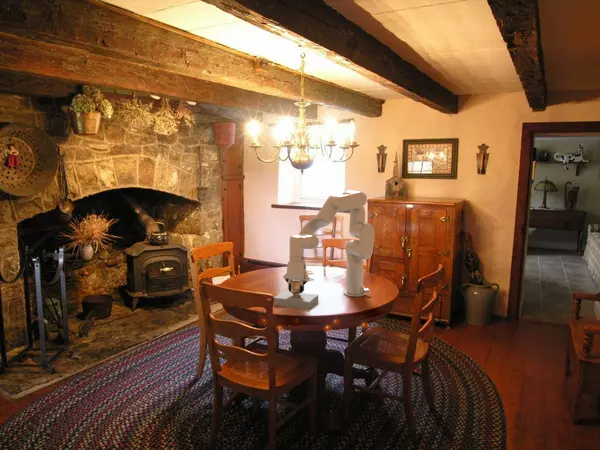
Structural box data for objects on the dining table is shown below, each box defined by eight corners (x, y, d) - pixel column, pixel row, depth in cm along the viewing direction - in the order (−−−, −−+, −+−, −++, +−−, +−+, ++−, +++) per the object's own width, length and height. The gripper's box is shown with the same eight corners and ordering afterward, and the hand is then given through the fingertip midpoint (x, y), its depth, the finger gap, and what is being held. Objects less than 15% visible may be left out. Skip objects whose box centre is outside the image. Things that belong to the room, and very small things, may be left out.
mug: (296, 280, 282) (296, 268, 281) (294, 276, 292) (294, 265, 291) (314, 280, 284) (314, 268, 282) (312, 276, 293) (312, 264, 292)
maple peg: (303, 297, 235) (303, 280, 234) (299, 299, 230) (299, 283, 229) (293, 295, 237) (293, 279, 236) (288, 298, 232) (289, 282, 231)
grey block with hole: (318, 302, 237) (318, 294, 236) (308, 309, 224) (309, 302, 223) (284, 297, 244) (284, 290, 244) (273, 304, 231) (273, 297, 231)
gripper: (314, 258, 231) (313, 291, 233) (284, 256, 238) (284, 288, 240) (309, 261, 224) (308, 295, 226) (278, 258, 231) (278, 291, 233)
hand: (296, 291), depth 233 cm, fingers closed on maple peg, 5 cm apart
